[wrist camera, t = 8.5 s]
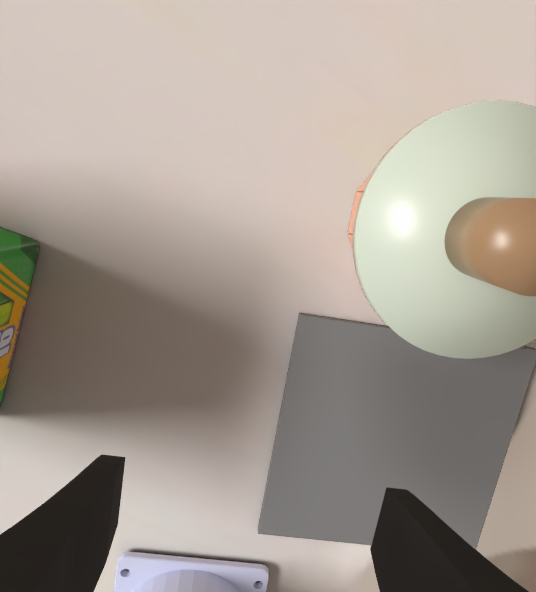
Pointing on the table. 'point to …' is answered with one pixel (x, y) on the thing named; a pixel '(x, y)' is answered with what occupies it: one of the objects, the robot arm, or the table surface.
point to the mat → (387, 431)
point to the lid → (454, 232)
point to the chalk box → (13, 292)
